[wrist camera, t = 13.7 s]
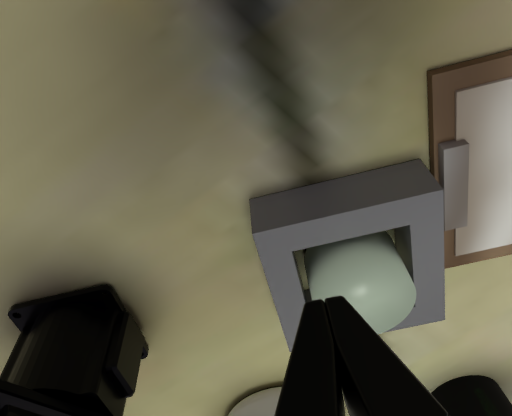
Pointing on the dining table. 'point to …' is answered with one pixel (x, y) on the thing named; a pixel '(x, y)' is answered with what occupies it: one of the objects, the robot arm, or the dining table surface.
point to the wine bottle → (258, 404)
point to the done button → (363, 278)
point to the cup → (473, 397)
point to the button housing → (355, 233)
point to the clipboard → (473, 155)
